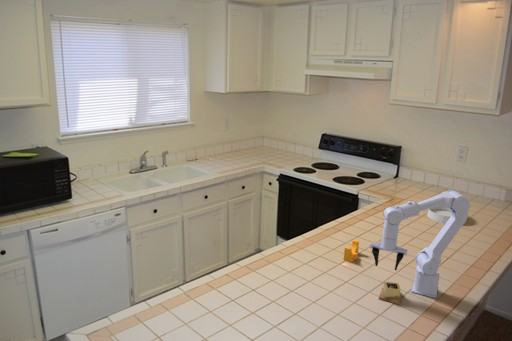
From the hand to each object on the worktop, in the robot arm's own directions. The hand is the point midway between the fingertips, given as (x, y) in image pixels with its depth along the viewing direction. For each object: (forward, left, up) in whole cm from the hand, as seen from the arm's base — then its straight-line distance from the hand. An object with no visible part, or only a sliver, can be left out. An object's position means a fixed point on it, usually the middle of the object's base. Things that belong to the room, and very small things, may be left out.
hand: (386, 267), depth 178 cm
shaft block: (-4, +5, -10) cm, 12 cm away
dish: (-19, -107, -10) cm, 109 cm away
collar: (-4, +5, -9) cm, 11 cm away
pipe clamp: (+19, -24, -10) cm, 32 cm away
